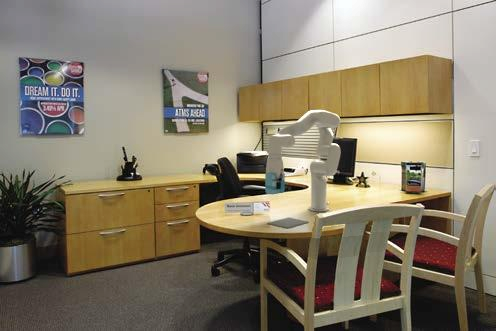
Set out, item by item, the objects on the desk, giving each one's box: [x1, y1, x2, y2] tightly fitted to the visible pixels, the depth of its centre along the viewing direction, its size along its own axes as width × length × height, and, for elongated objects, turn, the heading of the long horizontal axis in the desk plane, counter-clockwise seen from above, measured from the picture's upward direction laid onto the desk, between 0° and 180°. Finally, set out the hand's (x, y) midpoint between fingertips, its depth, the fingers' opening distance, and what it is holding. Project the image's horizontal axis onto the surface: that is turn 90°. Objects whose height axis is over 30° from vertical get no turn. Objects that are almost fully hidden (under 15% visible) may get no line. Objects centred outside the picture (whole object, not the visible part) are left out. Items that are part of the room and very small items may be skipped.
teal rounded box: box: [264, 172, 286, 195], centre depth 225 cm, size 12×4×12 cm, turn 136°
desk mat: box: [267, 217, 309, 229], centre depth 214 cm, size 18×14×1 cm
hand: (275, 188), depth 225 cm, fingers closed on teal rounded box, 4 cm apart
